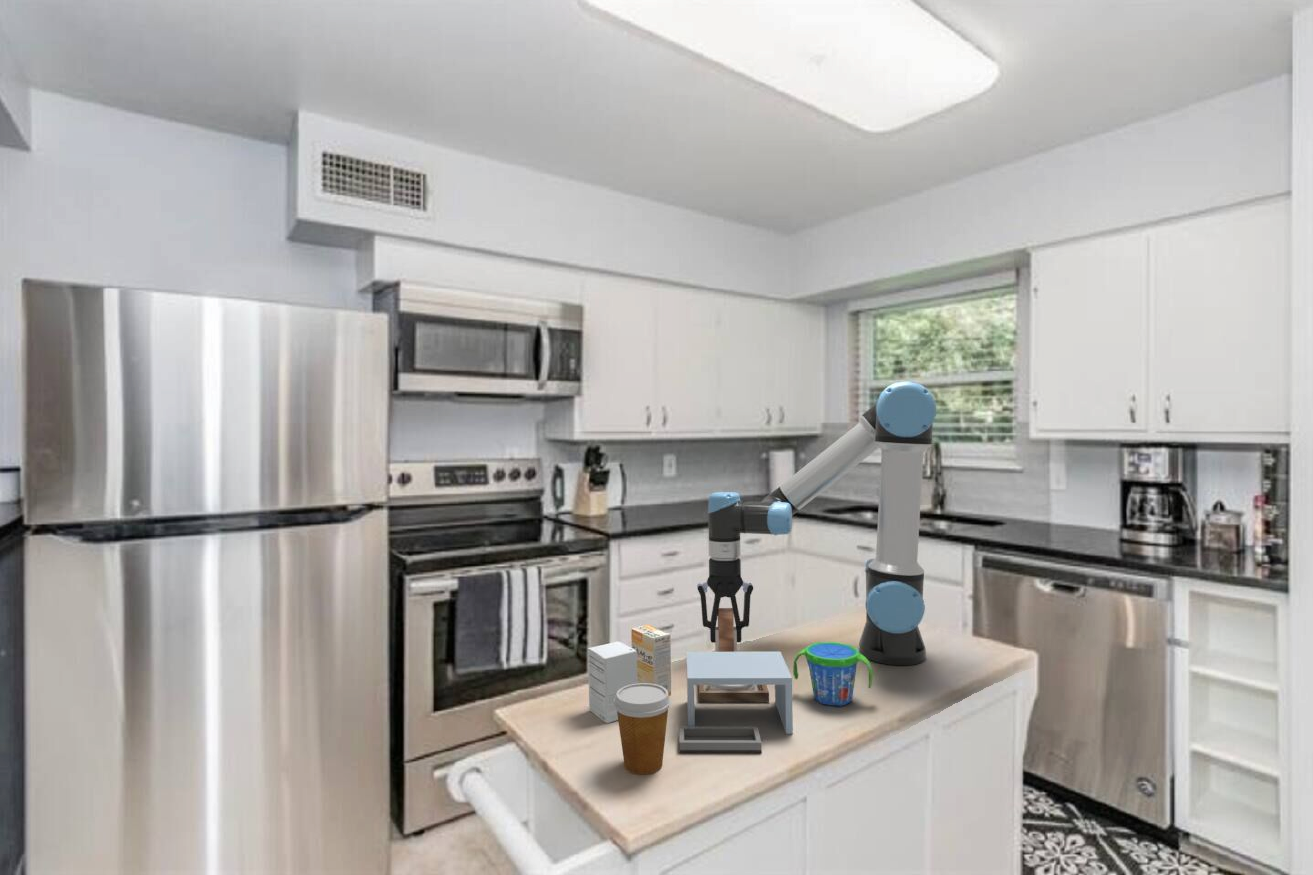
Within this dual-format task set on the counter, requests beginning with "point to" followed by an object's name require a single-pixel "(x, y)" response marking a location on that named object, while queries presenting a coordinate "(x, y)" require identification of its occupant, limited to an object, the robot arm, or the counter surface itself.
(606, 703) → the supplement box
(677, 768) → the counter surface
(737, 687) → the round grey tin
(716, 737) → the tray
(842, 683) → the snack cup
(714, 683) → the tunnel
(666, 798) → the counter surface
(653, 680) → the supplement box
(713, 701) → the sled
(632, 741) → the disposable coffee cup
